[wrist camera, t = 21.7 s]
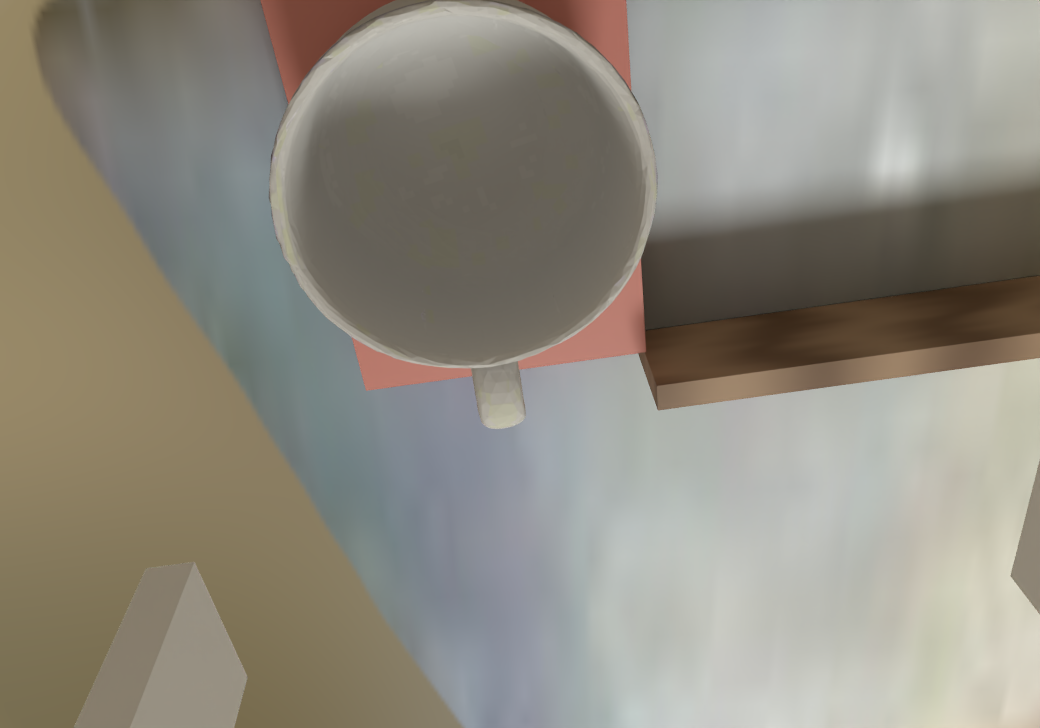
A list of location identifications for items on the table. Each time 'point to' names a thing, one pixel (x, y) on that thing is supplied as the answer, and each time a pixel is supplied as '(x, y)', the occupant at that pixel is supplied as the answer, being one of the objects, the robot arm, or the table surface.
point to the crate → (843, 343)
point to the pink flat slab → (574, 3)
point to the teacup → (463, 187)
